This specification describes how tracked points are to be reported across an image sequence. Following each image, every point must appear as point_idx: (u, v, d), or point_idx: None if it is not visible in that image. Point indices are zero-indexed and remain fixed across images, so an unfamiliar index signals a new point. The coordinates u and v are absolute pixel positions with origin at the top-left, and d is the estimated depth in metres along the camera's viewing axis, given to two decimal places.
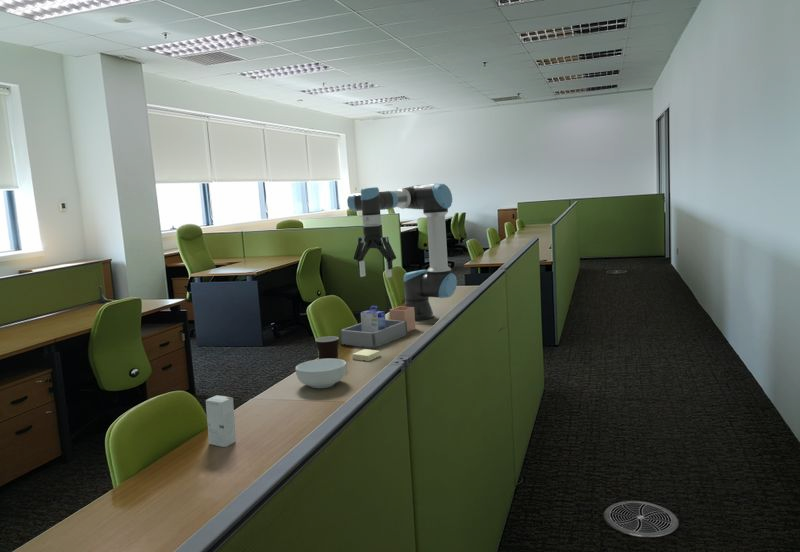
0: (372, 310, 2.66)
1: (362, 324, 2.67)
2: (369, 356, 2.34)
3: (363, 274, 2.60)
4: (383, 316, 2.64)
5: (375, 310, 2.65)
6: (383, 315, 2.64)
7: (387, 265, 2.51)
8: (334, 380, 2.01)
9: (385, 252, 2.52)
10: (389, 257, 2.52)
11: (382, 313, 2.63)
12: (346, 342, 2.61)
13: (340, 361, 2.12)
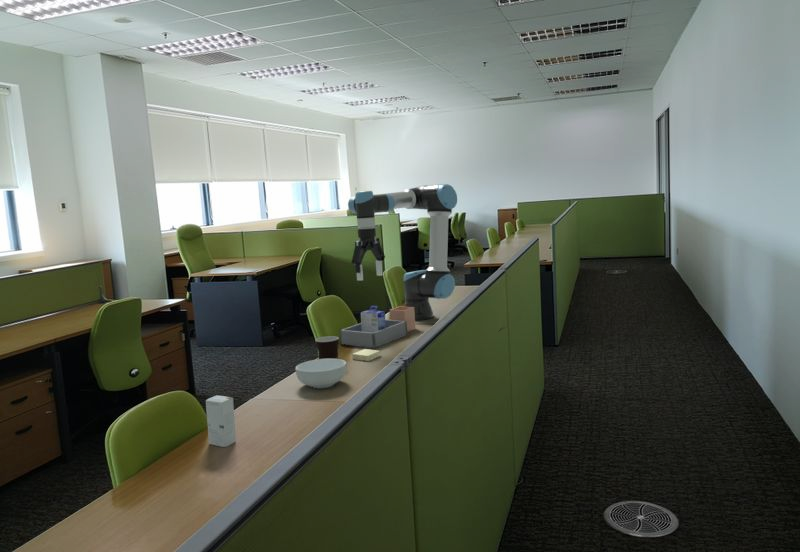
0: (372, 310, 2.66)
1: (362, 324, 2.67)
2: (369, 356, 2.34)
3: (378, 273, 2.69)
4: (383, 316, 2.64)
5: (375, 310, 2.65)
6: (383, 315, 2.64)
7: None
8: (334, 380, 2.01)
9: (359, 255, 2.58)
10: None
11: (382, 313, 2.63)
12: (346, 342, 2.61)
13: (340, 361, 2.12)
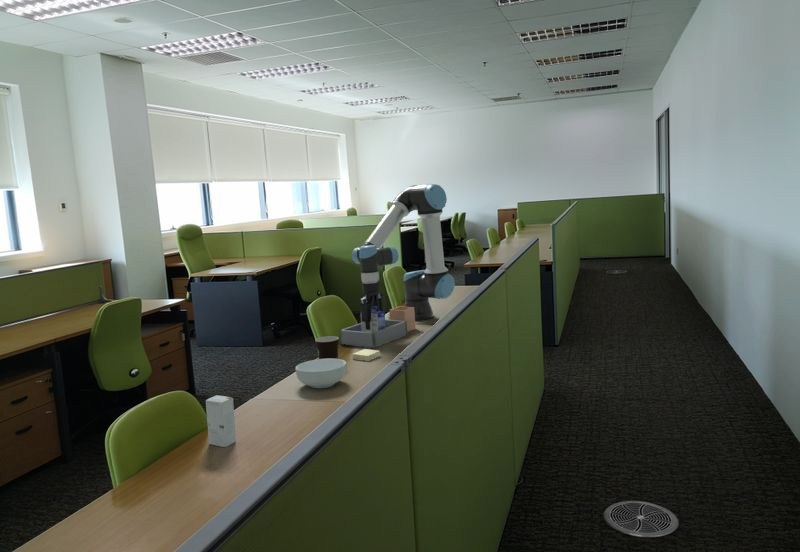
0: (372, 310, 2.66)
1: (362, 324, 2.67)
2: (369, 356, 2.34)
3: None
4: (383, 316, 2.64)
5: (375, 310, 2.65)
6: (383, 315, 2.64)
7: None
8: (334, 380, 2.01)
9: (366, 312, 2.63)
10: None
11: (382, 313, 2.63)
12: (346, 342, 2.61)
13: (340, 361, 2.12)
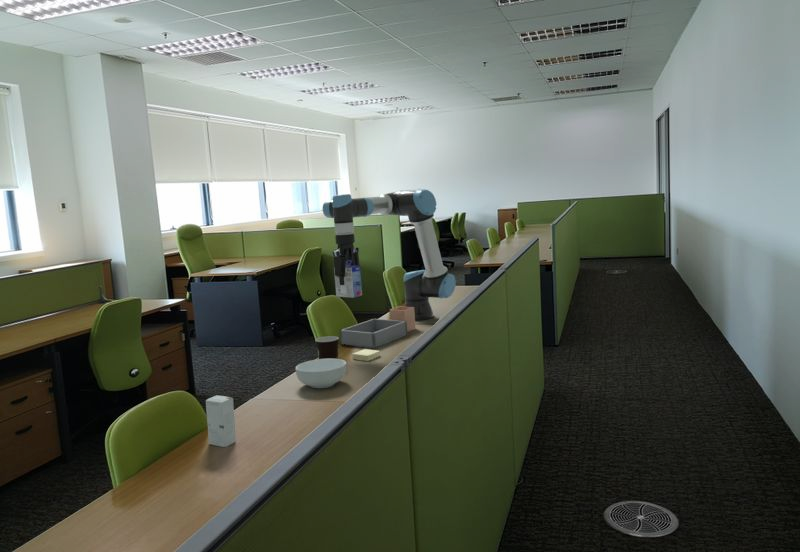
0: (346, 264, 2.47)
1: (336, 280, 2.48)
2: (369, 356, 2.34)
3: None
4: (358, 271, 2.45)
5: (349, 264, 2.46)
6: (358, 269, 2.45)
7: None
8: (334, 380, 2.01)
9: (340, 266, 2.44)
10: None
11: (357, 267, 2.44)
12: (346, 342, 2.61)
13: (340, 361, 2.12)
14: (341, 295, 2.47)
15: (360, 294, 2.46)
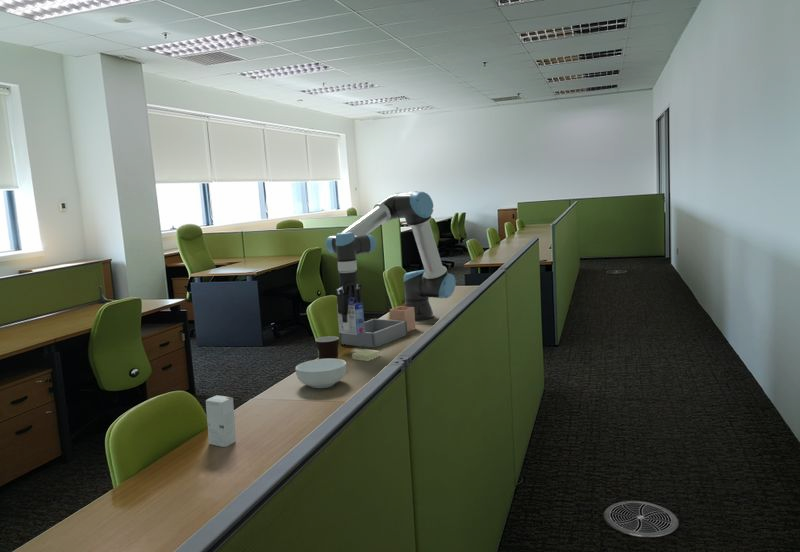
0: (349, 302, 2.49)
1: (339, 317, 2.49)
2: (369, 356, 2.34)
3: None
4: (361, 308, 2.47)
5: (352, 301, 2.48)
6: (361, 307, 2.47)
7: None
8: (334, 380, 2.01)
9: (343, 304, 2.46)
10: None
11: (360, 305, 2.46)
12: (346, 342, 2.61)
13: (340, 361, 2.12)
14: (344, 332, 2.49)
15: (363, 331, 2.48)
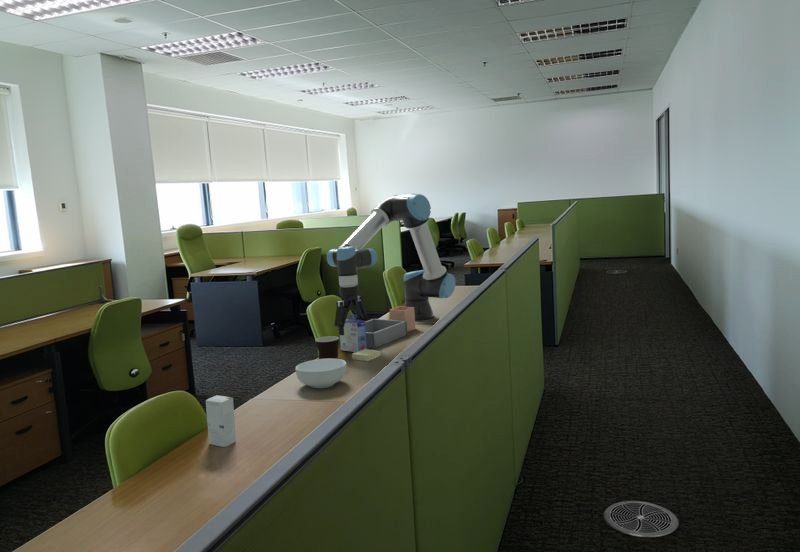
0: (351, 319, 2.50)
1: None
2: (369, 356, 2.34)
3: None
4: (363, 326, 2.48)
5: (354, 319, 2.49)
6: (363, 324, 2.48)
7: None
8: (334, 380, 2.01)
9: (341, 316, 2.45)
10: None
11: (362, 322, 2.47)
12: None
13: (340, 361, 2.12)
14: (346, 349, 2.50)
15: (364, 348, 2.49)
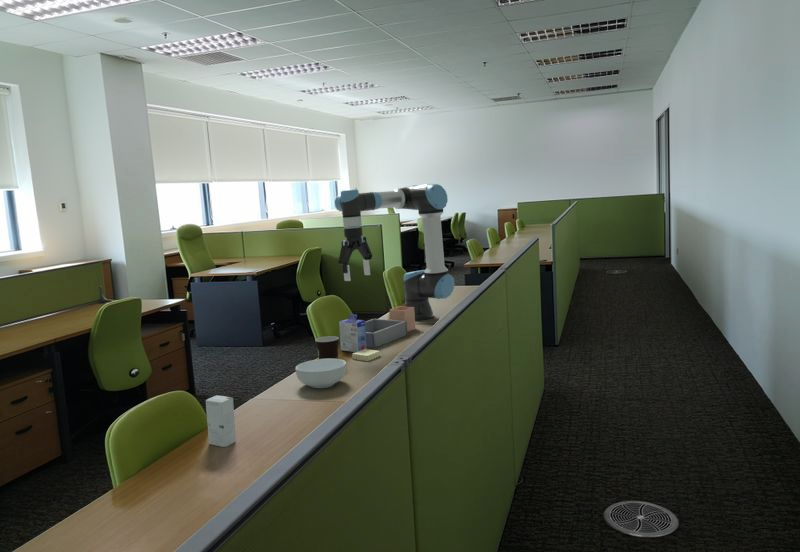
0: (351, 319, 2.50)
1: (341, 334, 2.51)
2: (369, 356, 2.34)
3: (366, 273, 2.64)
4: (363, 326, 2.48)
5: (354, 319, 2.49)
6: (363, 324, 2.48)
7: None
8: (334, 380, 2.01)
9: (345, 255, 2.53)
10: None
11: (362, 322, 2.47)
12: None
13: (340, 361, 2.12)
14: (346, 349, 2.50)
15: (364, 348, 2.49)
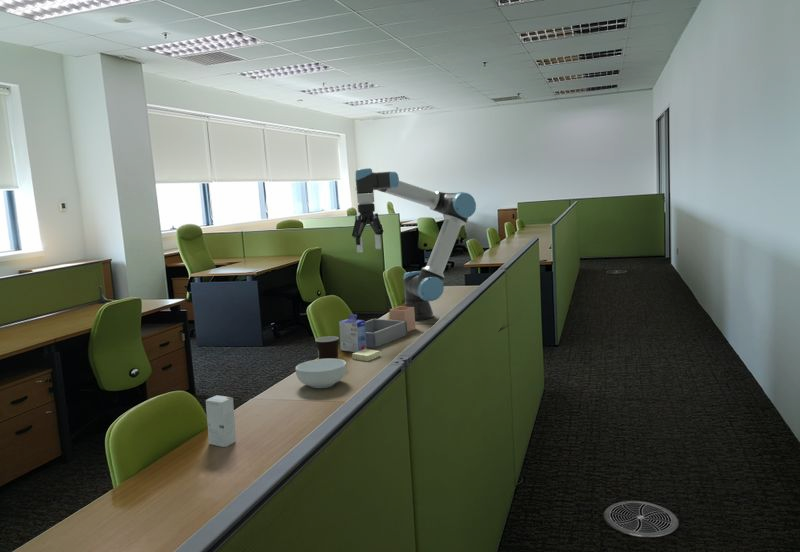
0: (351, 319, 2.50)
1: (341, 334, 2.51)
2: (369, 356, 2.34)
3: (377, 247, 2.86)
4: (363, 326, 2.48)
5: (354, 319, 2.49)
6: (363, 324, 2.48)
7: None
8: (334, 380, 2.01)
9: (359, 229, 2.75)
10: None
11: (362, 322, 2.47)
12: None
13: (340, 361, 2.12)
14: (346, 349, 2.50)
15: (364, 348, 2.49)
